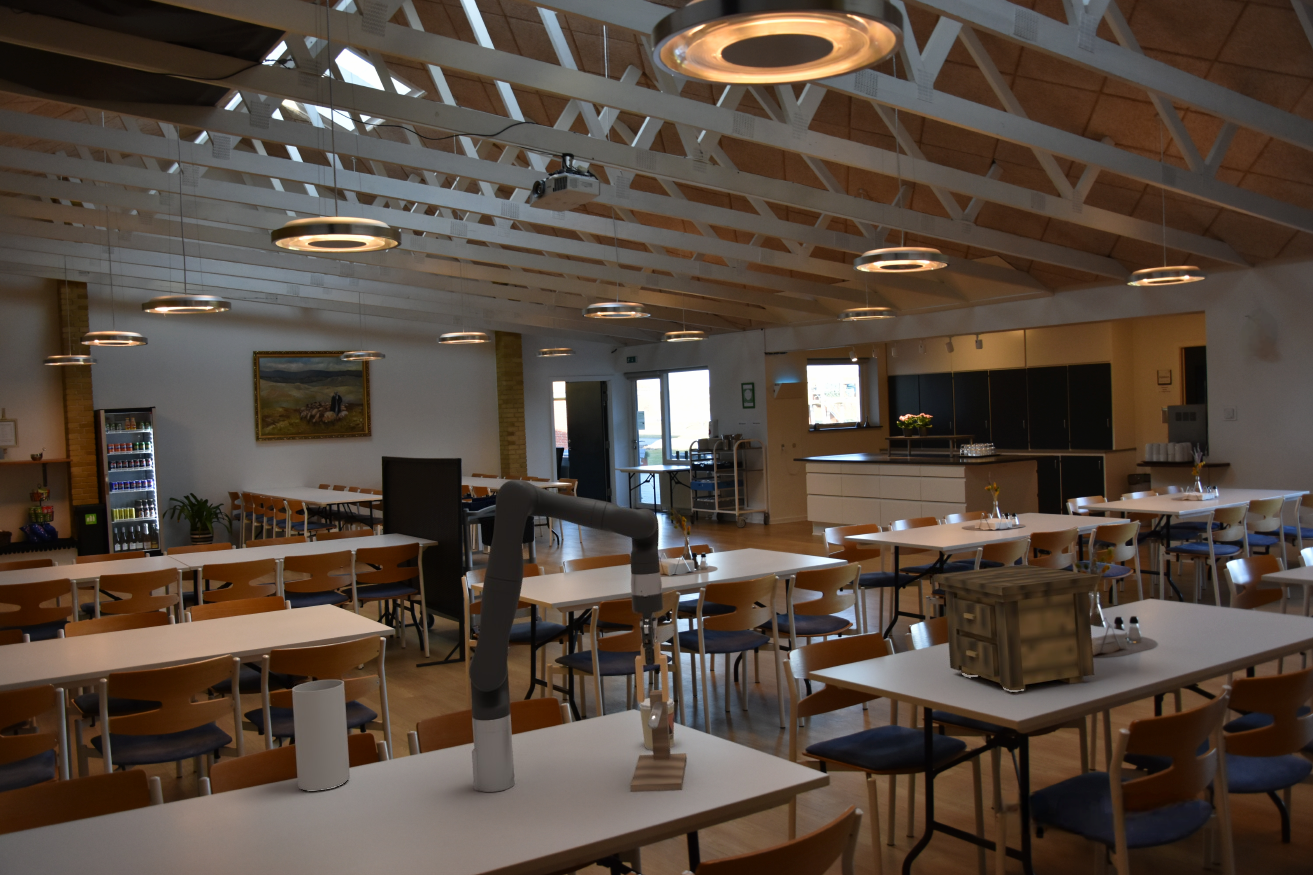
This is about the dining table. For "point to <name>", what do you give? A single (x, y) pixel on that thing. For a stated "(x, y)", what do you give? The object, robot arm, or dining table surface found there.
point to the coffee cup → (645, 718)
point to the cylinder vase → (320, 734)
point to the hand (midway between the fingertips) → (651, 661)
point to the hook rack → (659, 754)
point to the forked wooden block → (640, 674)
